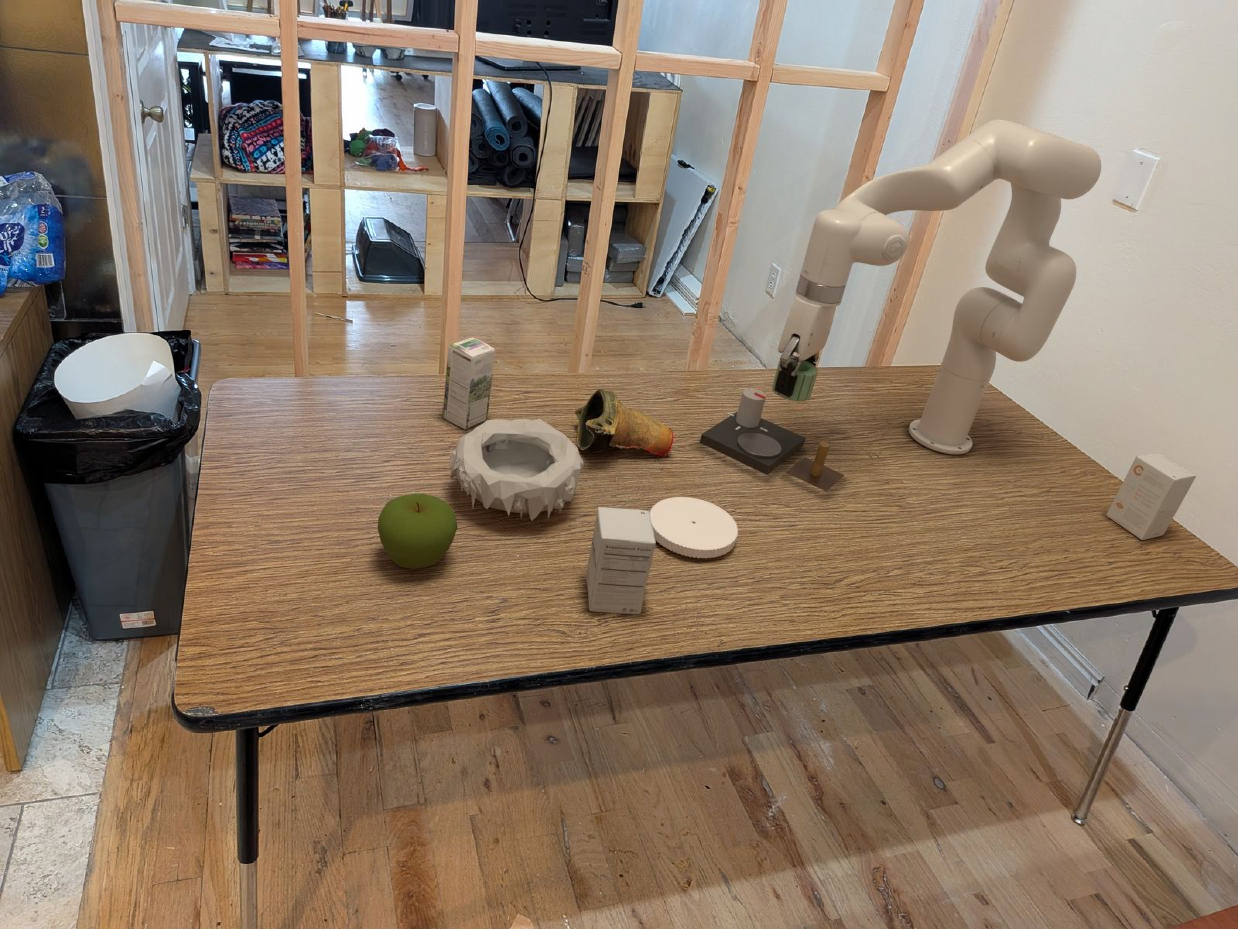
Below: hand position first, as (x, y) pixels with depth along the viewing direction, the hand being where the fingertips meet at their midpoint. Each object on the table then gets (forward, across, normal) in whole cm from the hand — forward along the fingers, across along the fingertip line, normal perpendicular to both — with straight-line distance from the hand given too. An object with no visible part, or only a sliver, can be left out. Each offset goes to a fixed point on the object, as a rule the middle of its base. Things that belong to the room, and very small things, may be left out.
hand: (792, 386), depth 158 cm
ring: (+1, 0, 0) cm, 1 cm away
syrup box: (+16, +30, -46) cm, 57 cm away
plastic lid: (+16, +30, +1) cm, 34 cm away
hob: (+16, -2, -5) cm, 17 cm away
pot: (+16, +19, -23) cm, 34 cm away
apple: (+16, +65, -23) cm, 71 cm away
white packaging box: (+16, +51, +1) cm, 53 cm away
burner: (+13, +1, -3) cm, 13 cm away
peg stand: (+16, -2, +8) cm, 18 cm away
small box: (+16, -36, +57) cm, 70 cm away
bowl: (+16, +43, -24) cm, 52 cm away
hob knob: (+13, -6, -9) cm, 17 cm away
